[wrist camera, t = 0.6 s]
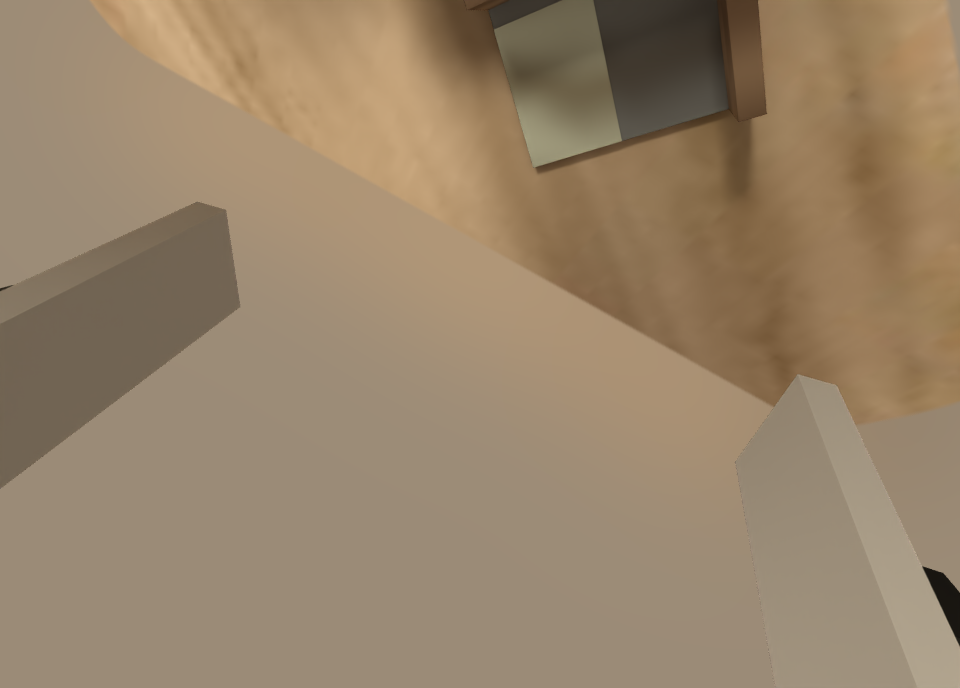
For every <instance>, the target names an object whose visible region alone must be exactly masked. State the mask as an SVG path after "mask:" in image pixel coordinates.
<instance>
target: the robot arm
mask: <svg viewBox="0 0 960 688" xmlns="http://www.w3.org/2000/svg"><path fill="white" fill-rule="evenodd" d="M239 307H240V301H239V295H238V288H237V281H236V275H235V268H234V261H233V254H232V247H231V240H230V234H229V227H228V220H227V213H226V210H224V209H221V208H218V207H214V206H210V205H207V204H204V203H200V202H196V203H193V204H191V205H189V206H187V207H185V208H183V209H180V210H178V211H176V212H174V213H171V214H169V215H167V216H165V217H163V218H160V219H158V220H156V221H154V222H152V223H149V224H147V225H145V226H143V227H141V228H139V229H136V230H134V231H132V232H130V233H128V234H125V235H123V236H121V237H119V238H117V239H114V240H112V241H110V242H108V243H106V244H103V245H101V246H99V247H97V248H95V249H92V250H90V251H88V252H86V253H84V254H81V255H79V256H77V257H75V258H73V259H71V260H68V261H66V262H64V263H62V264H59V265H57V266H55V267H53V268H51V269H48V270H46V271H44V272H42V273H40V274H37V275H35V276H33V277H31V278H29V279H26V280H24V281H22V282H20V283H18V284H16V285H12V286H8V287H4V288H0V488H2V487H3V486H5V485H6V484H7V483H8V482H10V481H11V480H12V479H14V478H15V477H16V476H18V475H19V474H20V473H22V472H23V471H24V470H26V469H27V468H28V467H30V466H31V465H32V464H34V463H35V462H36V461H38V460H39V459H40V458H41V457H43V456H44V455H45V454H47V453H48V452H49V451H51V450H52V449H53V448H55V447H56V446H57V445H59V444H60V443H61V442H63V441H64V440H65V439H66V438H68V437H69V436H70V435H72V434H73V433H74V432H76V431H77V430H78V429H80V428H81V427H82V426H83V425H85V424H86V423H87V422H89V421H90V420H92V419H93V418H94V417H96V416H97V415H98V414H99V413H101V412H102V411H103V410H105V409H106V408H107V407H109V406H110V405H111V404H113V403H114V402H115V401H117V400H118V399H119V398H120V397H122V396H123V395H125V394H126V393H127V392H129V391H130V390H131V389H133V388H134V387H135V386H136V385H138V384H139V383H140V382H142V381H143V380H144V379H146V378H147V377H148V376H149V375H151V374H152V373H154V372H155V371H156V370H157V369H159V368H160V367H162V366H163V365H164V364H166V363H167V362H168V361H169V360H171V359H172V358H173V357H175V356H176V355H177V354H179V353H180V352H181V351H183V350H184V349H185V348H186V347H188V346H189V345H190V344H192V343H193V342H195V341H196V340H197V339H199V337H201V336H202V335H204V334H205V333H206V332H208V331H209V330H210V329H212V328H213V327H214V326H216V325H217V324H218V323H219V322H221V321H222V320H224V319H225V318H226V317H228V316H229V315H230V314H232V313H233V312H234V311H235V310H237V309H238V308H239ZM735 463H736V469H737V475H738V480H739V486H740V492H741V497H742V503H743V508H744V514H745V520H746V525H747V531H748V536H749V542H750V548H751V553H752V559H753V565H754V571H755V576H756V582H757V587H758V593H759V599H760V605H761V610H762V616H763V621H764V627H765V633H766V638H767V644H768V650H769V655H770V661H771V667H772V672H773V677H774V684H775V688H960V593H959V591H958V590H957V589H956V588H955V586H954V585H953V584H952V583H951V582H950V580H949V579H948V578H947V577H946V576H945V575H944V574H943V573H941V572H938V571H935V570H932V569H929V568H926V567H923V566H921V564H920V561H919V559H918V557H917V556H916V553H915V551H914V549H913V546H912V544H911V542H910V540H909V538H908V536H907V534H906V532H905V529H904V527H903V526H902V523H901V521H900V519H899V517H898V515H897V513H896V510H895V508H894V506H893V504H892V502H891V500H890V498H889V496H888V493H887V492H886V489H885V487H884V485H883V483H882V481H881V479H880V476H879V474H878V472H877V470H876V468H875V466H874V464H873V462H872V459H871V457H870V455H869V453H868V451H867V449H866V447H865V445H864V443H863V440H862V438H861V436H860V434H859V432H858V430H857V428H856V425H855V423H854V421H853V419H852V417H851V415H850V413H849V411H848V408H847V406H846V404H845V402H844V400H843V398H842V396H841V394H840V391H839V389H838V387H837V385H834V384H830V383H827V382H823V381H820V380H816V379H813V378H809V377H806V376H802V375H799V374H797V376H796V377H795V379H794V380H793V381H792V383H791V384H790V386H789V387H788V388H787V390H786V391H785V393H784V394H783V395H782V397H781V398H780V400H779V401H778V402H777V404H776V405H775V407H774V408H773V409H772V411H771V412H770V414H769V415H768V416H767V418H766V419H765V421H764V422H763V424H762V425H761V426H760V428H759V429H758V431H757V432H756V433H755V435H754V436H753V438H752V439H751V440H750V442H749V443H748V445H747V446H746V447H745V449H744V450H743V452H742V453H741V455H740V456H739V457H738V459H737V460H736V462H735Z"/></svg>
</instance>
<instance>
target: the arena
mask: <svg viewBox="0 0 960 688" xmlns="http://www.w3.org/2000/svg"><path fill="white" fill-rule="evenodd" d="M464 2H465V6H466V9H467V10H489V14H490V17H491V21H492V24H493V28H494V32H495V36H496V39H497V43H498V46H499V50H500V53H501V57H502V60H503V64H504V67H505V71H506V74H507V78H508V81H509V85H510V88H511V92H512V95H513V99H514V102H515V106H516V109H517V113H518V116H519V120H520V123H521V127H522V130H523V134H524V137H525V141H526V144H527V148H528V151H529V155H530V158H531V162H532V165H533V168H534V167H537V166H541V165H544V164H547V163H551V162H554V161H557V160H561V159H564V158H567V157H571V156H574V155H577V154H581V153H584V152H587V151H591V150H594V149H597V148H601V147H604V146H607V145H611V144H614V143H617V142H621V141H623V140H627V139H630V138H633V137H637V136H640V135H643V134H647V133H650V132H653V131H657V130H660V129H663V128H667V127H670V126H673V125H677V124H680V123H683V122H687V121H690V120H693V119H697V118H700V117H703V116H707V115H710V114H713V113H717V112H720V111H723V110H727V109H729V110H730V111H731V112H732V114H733V115H734V116H735V118H736V119H737V120H738V122H741V121H744V120H748V119H751V118H755V117H758V116H762V115H765V114H767V112H766V99H765V86H764V74H763V61H762V48H761V35H760V22H759V10H758V0H464Z"/></svg>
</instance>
